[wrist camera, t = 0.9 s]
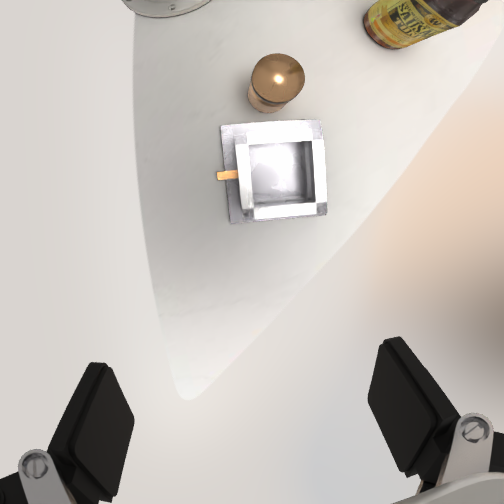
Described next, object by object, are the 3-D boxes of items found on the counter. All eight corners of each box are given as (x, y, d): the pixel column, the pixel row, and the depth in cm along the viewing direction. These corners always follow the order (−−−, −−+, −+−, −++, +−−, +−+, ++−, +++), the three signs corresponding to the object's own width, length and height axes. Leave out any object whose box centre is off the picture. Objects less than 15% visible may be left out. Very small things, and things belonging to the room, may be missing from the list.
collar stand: (213, 127, 29) (208, 122, 23) (317, 120, 29) (334, 114, 24) (223, 222, 32) (221, 236, 27) (323, 213, 32) (340, 225, 27)
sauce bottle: (357, 37, 26) (465, -40, 7) (366, 0, 24) (459, -80, 5) (405, 61, 27) (530, 20, 8) (412, 24, 25) (521, -28, 6)
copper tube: (245, 77, 27) (250, 54, 20) (285, 75, 27) (302, 52, 20) (249, 114, 28) (254, 102, 21) (289, 112, 29) (307, 100, 21)
